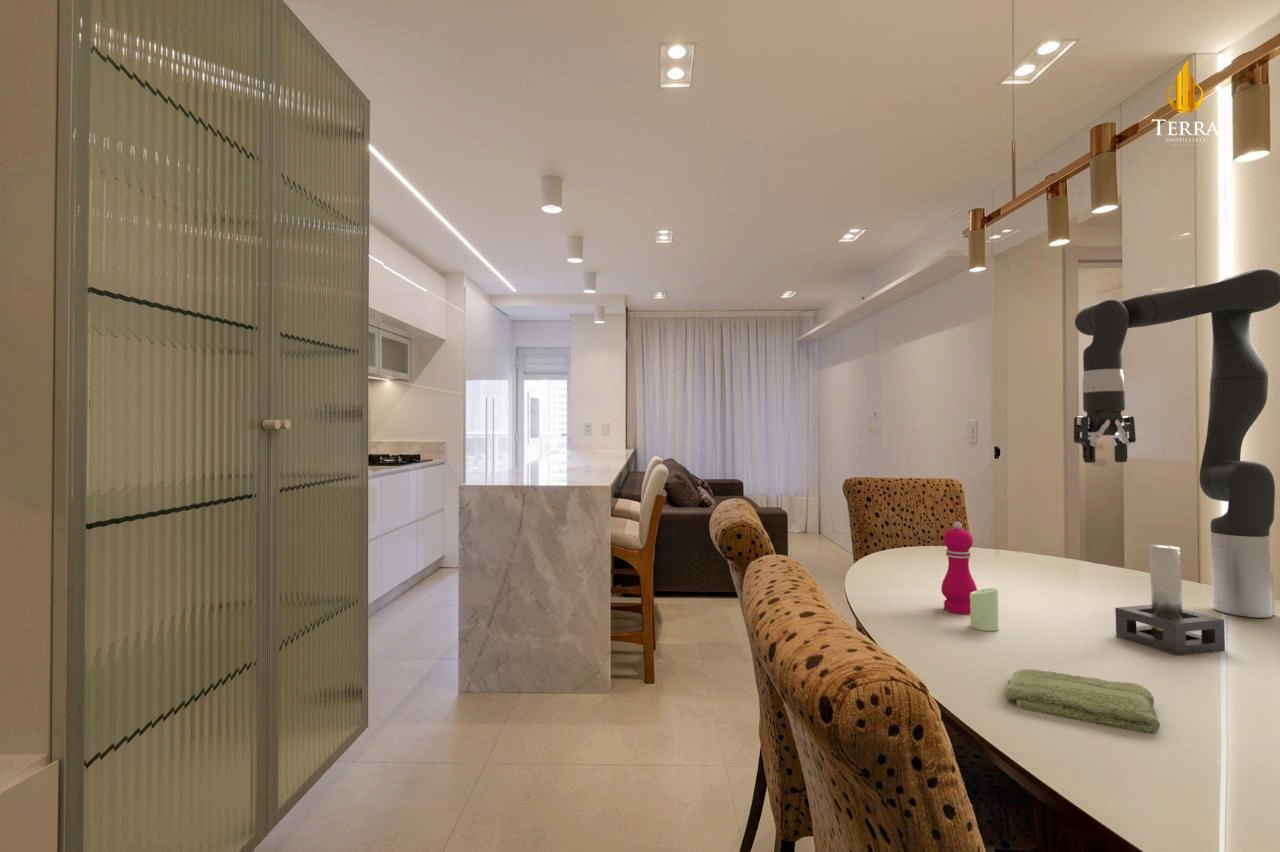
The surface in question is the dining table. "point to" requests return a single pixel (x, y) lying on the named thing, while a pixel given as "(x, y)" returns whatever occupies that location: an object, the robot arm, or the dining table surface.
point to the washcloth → (1084, 699)
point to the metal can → (1165, 584)
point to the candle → (984, 609)
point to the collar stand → (1171, 630)
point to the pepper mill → (958, 570)
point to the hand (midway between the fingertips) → (1105, 462)
